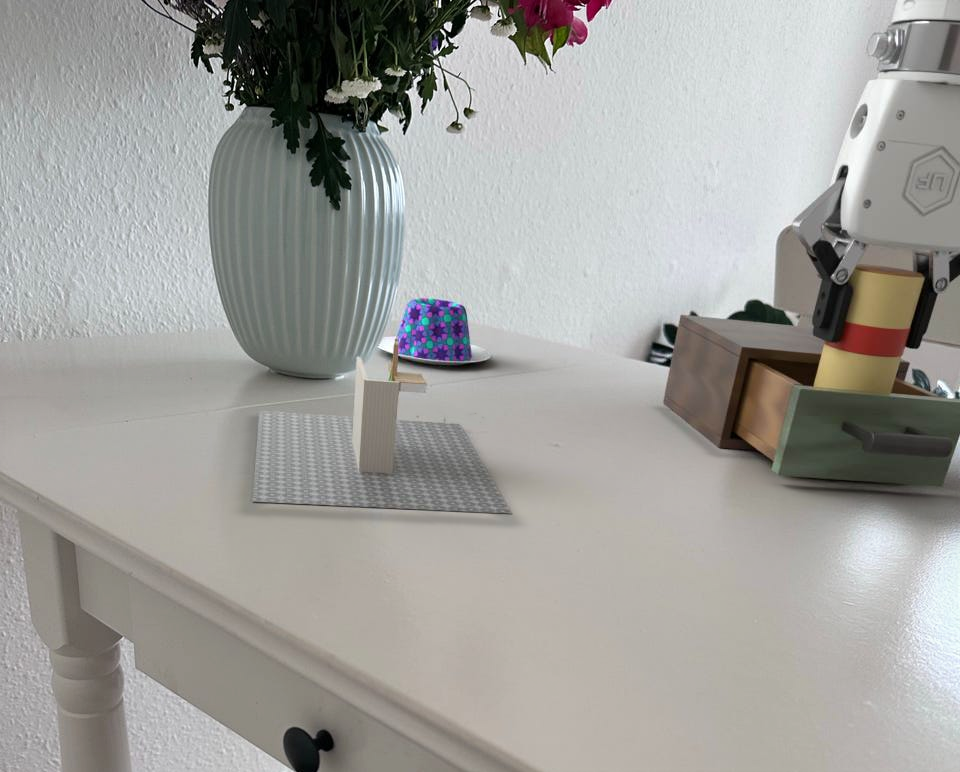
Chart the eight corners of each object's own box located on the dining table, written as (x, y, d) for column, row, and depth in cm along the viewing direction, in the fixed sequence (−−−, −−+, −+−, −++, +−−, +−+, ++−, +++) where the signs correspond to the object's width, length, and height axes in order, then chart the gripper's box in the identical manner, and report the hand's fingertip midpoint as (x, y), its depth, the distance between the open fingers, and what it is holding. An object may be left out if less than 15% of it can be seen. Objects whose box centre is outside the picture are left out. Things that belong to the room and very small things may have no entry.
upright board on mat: (407, 444, 69) (416, 330, 66) (419, 474, 63) (430, 351, 60) (352, 441, 69) (358, 325, 65) (358, 471, 63) (366, 345, 59)
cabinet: (880, 459, 81) (910, 362, 78) (718, 447, 79) (741, 346, 75) (804, 414, 94) (827, 328, 90) (662, 402, 91) (680, 314, 88)
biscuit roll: (865, 388, 77) (899, 267, 73) (903, 407, 72) (942, 278, 68) (799, 384, 76) (830, 260, 72) (833, 402, 71) (868, 271, 67)
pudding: (436, 341, 106) (441, 291, 104) (514, 365, 99) (521, 312, 97) (350, 346, 98) (352, 292, 96) (428, 373, 91) (433, 316, 89)
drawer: (980, 508, 68) (1012, 420, 65) (806, 497, 66) (832, 405, 63) (854, 435, 84) (876, 363, 81) (711, 425, 82) (728, 349, 79)
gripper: (849, 42, 59) (778, 344, 67) (1094, 76, 62) (997, 361, 70) (796, 50, 65) (737, 324, 74) (1020, 80, 68) (939, 340, 77)
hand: (865, 339), depth 72 cm, fingers closed on biscuit roll, 5 cm apart
